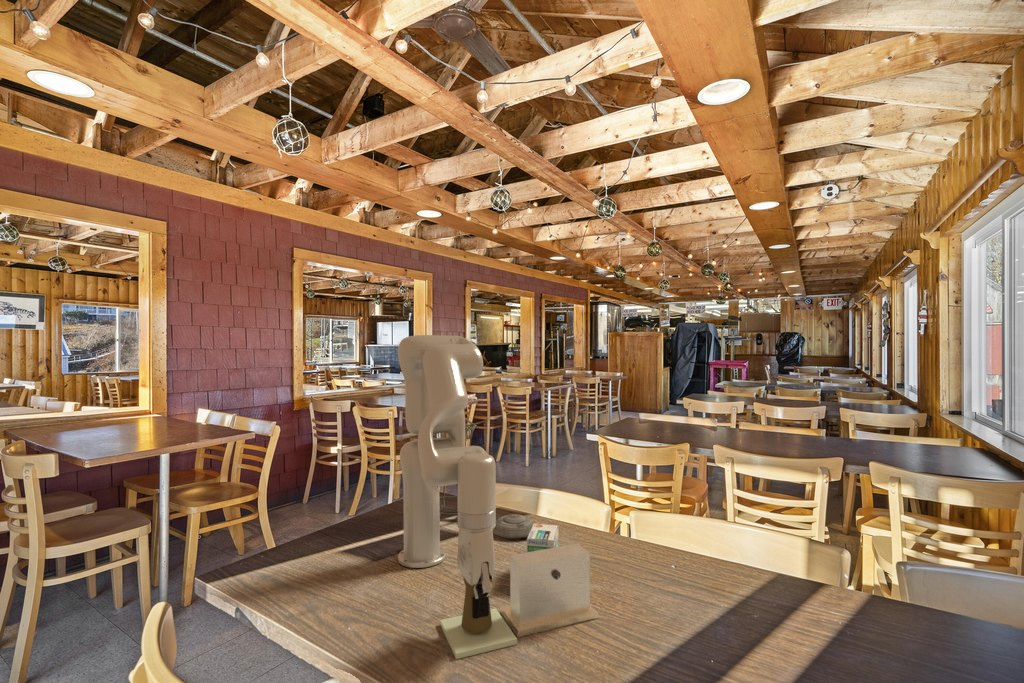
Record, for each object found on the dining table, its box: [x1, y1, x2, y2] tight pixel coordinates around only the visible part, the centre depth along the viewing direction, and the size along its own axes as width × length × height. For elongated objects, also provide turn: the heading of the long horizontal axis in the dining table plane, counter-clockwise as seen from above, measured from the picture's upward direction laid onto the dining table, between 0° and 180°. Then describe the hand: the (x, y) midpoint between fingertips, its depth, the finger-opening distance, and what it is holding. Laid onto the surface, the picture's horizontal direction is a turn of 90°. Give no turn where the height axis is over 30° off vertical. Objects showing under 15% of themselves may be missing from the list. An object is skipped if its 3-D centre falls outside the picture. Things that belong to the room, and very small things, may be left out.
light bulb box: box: [526, 523, 560, 552], centre depth 123 cm, size 11×7×11 cm, turn 168°
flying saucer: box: [492, 513, 538, 539], centre depth 151 cm, size 15×15×6 cm
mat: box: [439, 607, 518, 660], centre depth 97 cm, size 12×12×1 cm
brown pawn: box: [461, 575, 492, 633], centre depth 98 cm, size 6×6×11 cm
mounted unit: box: [499, 543, 599, 638], centre depth 104 cm, size 10×18×13 cm, turn 112°
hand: (476, 610), depth 98 cm, fingers closed on brown pawn, 3 cm apart
